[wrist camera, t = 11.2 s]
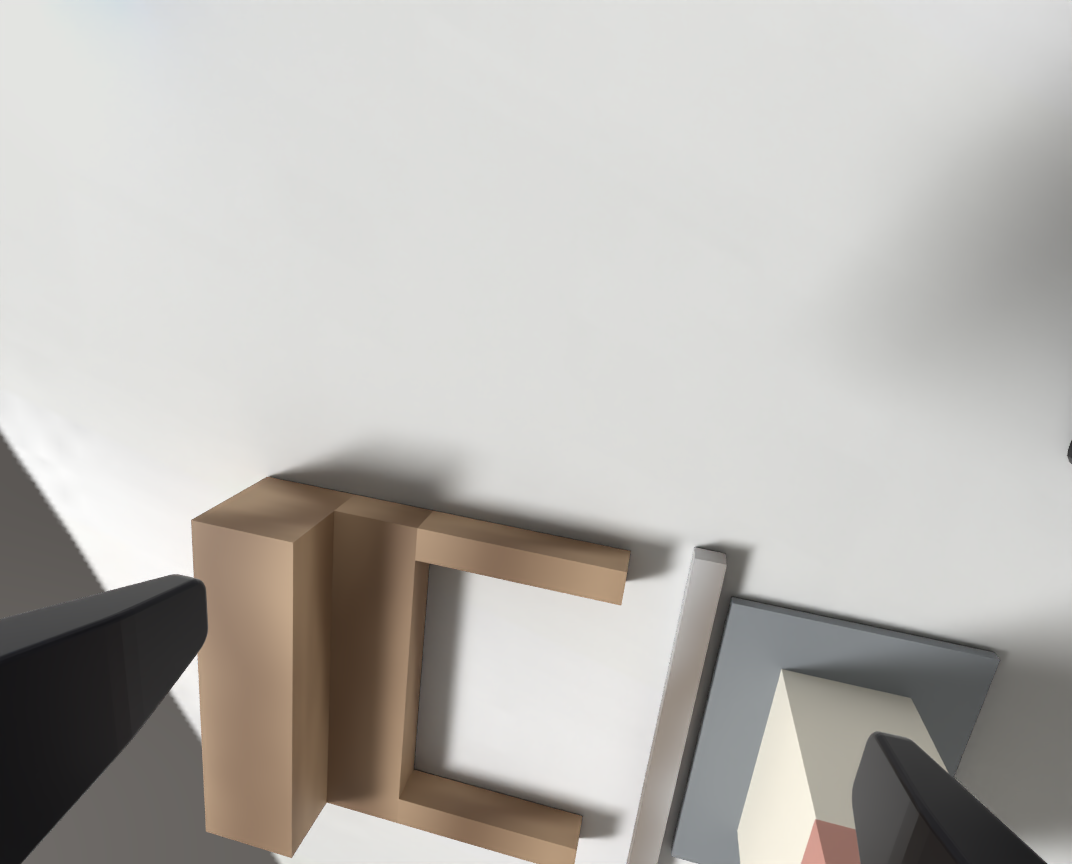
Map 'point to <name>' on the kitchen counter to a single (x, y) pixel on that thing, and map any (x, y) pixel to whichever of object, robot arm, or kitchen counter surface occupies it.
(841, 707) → the block
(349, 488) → the kitchen counter surface
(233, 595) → the cradle
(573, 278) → the kitchen counter surface
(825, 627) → the mat
